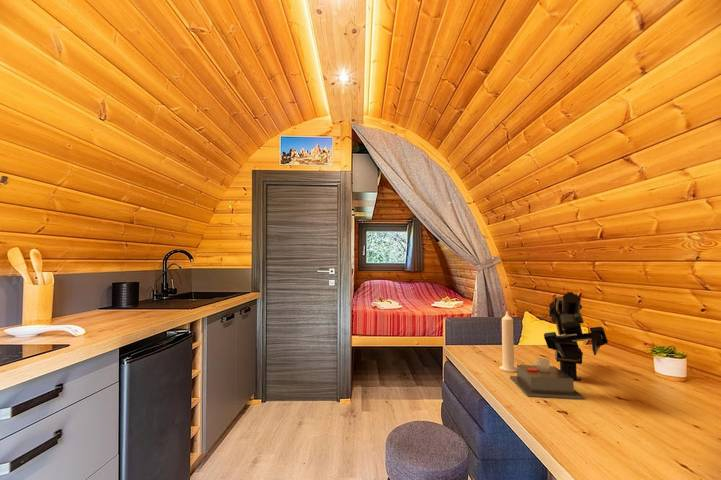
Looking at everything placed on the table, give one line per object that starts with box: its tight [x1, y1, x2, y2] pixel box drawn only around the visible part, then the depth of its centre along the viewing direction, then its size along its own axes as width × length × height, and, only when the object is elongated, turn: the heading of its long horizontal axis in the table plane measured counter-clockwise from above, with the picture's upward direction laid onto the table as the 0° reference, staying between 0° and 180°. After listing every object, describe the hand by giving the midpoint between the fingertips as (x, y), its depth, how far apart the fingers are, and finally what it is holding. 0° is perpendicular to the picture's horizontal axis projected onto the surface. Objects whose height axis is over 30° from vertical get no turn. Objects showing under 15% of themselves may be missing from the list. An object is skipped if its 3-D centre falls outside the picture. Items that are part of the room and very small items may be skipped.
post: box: [536, 357, 551, 373], centre depth 123 cm, size 3×3×9 cm
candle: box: [499, 310, 517, 373], centre depth 145 cm, size 7×7×25 cm
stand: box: [509, 364, 584, 400], centre depth 123 cm, size 18×18×7 cm
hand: (578, 355), depth 113 cm, fingers open, 9 cm apart
